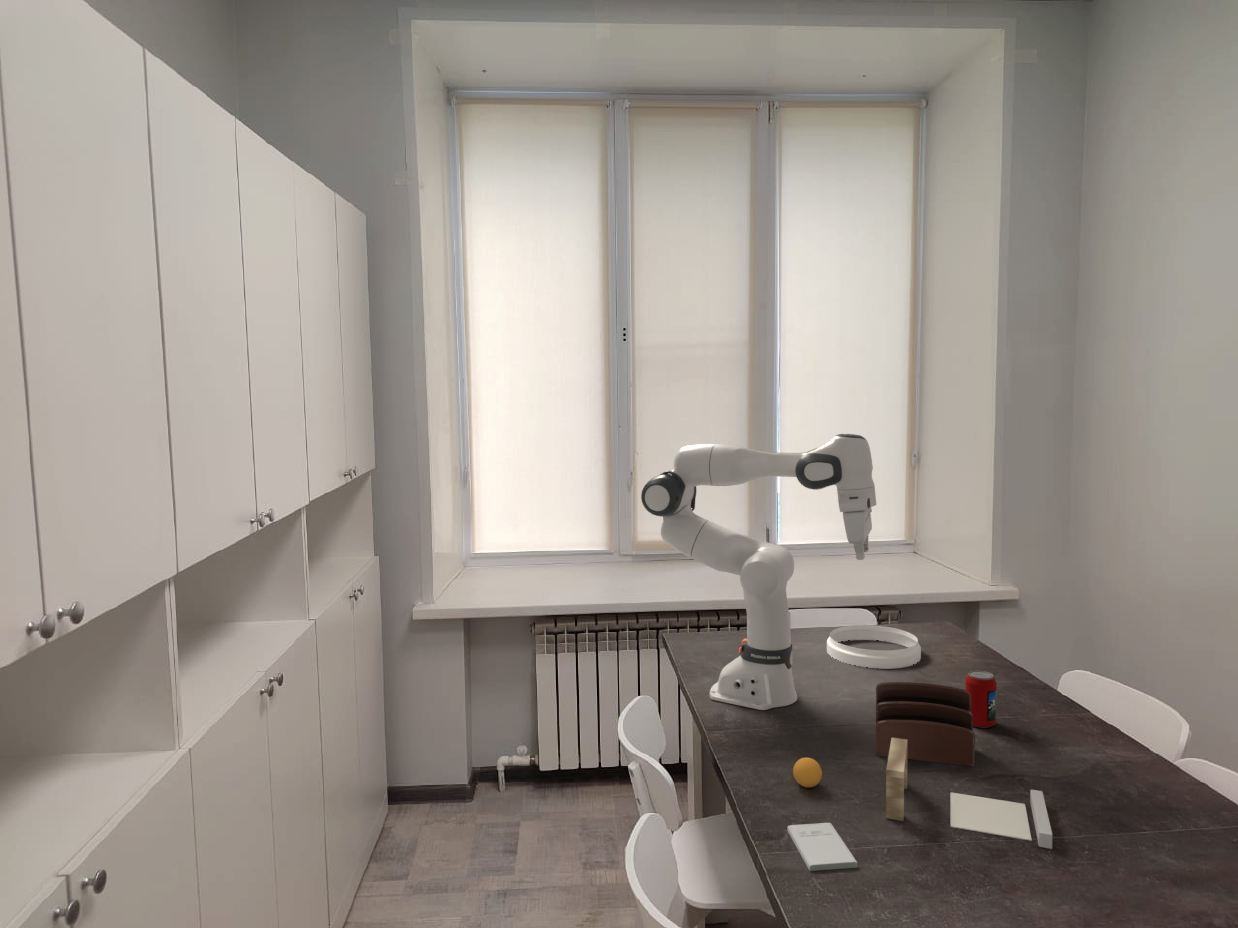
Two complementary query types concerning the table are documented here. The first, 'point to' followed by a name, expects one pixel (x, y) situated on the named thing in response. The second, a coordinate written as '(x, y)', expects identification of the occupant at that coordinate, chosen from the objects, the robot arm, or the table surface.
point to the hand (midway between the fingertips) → (862, 555)
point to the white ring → (874, 657)
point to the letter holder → (926, 722)
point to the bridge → (896, 779)
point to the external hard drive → (821, 847)
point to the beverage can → (982, 697)
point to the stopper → (1041, 819)
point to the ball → (807, 772)
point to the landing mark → (989, 816)
